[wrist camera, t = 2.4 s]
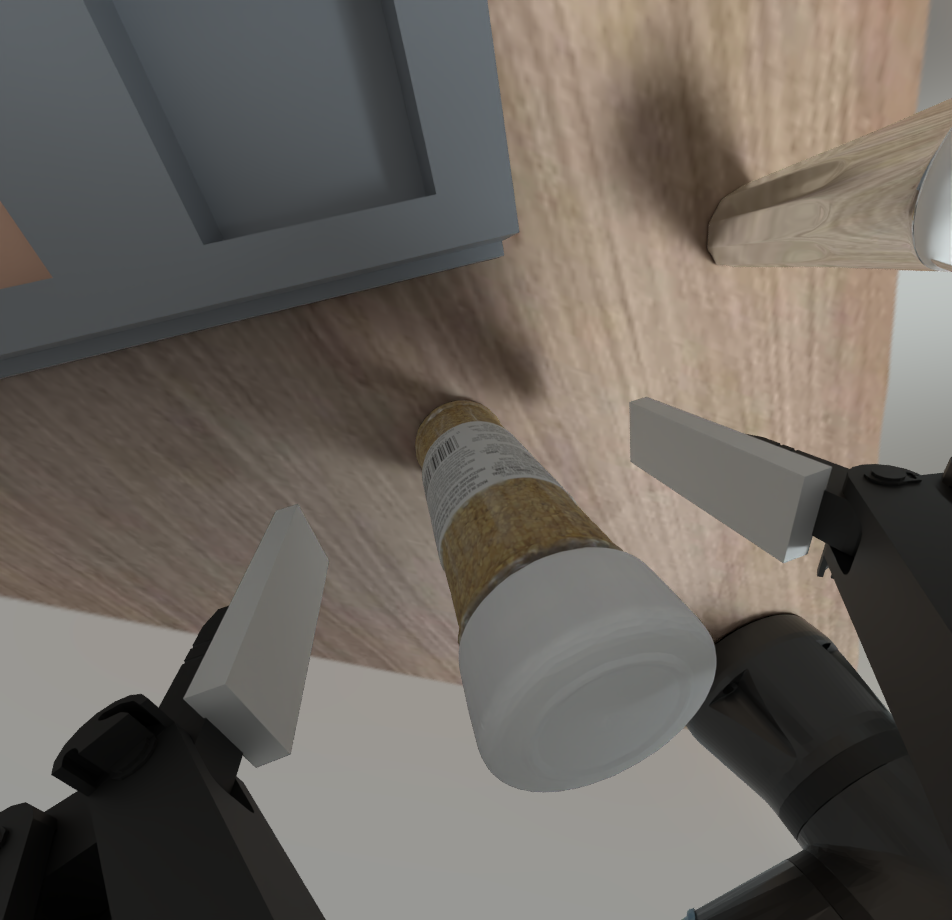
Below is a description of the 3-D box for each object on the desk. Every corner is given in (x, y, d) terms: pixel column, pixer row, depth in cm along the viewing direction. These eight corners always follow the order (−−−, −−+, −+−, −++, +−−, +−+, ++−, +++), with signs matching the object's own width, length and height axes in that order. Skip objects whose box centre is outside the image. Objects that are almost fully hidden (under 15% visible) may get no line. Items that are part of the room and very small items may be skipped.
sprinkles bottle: (457, 497, 19) (580, 822, 7) (393, 443, 17) (417, 775, 5) (520, 438, 19) (764, 687, 7) (461, 376, 17) (662, 574, 5)
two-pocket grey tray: (496, 257, 15) (521, 249, 12) (-131, 411, 12) (-273, 441, 10) (422, -184, 10) (437, -359, 7) (-656, -86, 7) (-1249, -305, 5)
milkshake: (666, 274, 17) (979, 246, 8) (733, 145, 15) (1217, -67, 6) (727, 313, 18) (1044, 327, 10) (794, 201, 17) (1247, 94, 8)
